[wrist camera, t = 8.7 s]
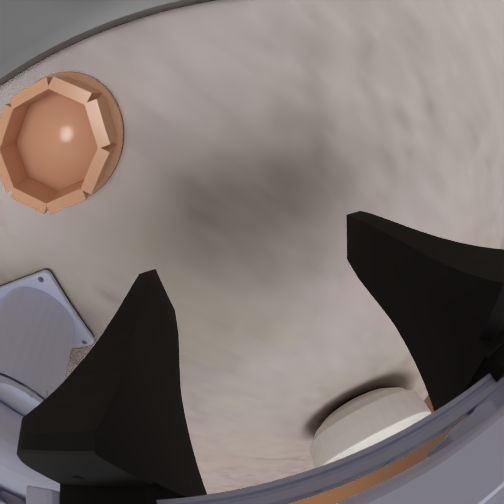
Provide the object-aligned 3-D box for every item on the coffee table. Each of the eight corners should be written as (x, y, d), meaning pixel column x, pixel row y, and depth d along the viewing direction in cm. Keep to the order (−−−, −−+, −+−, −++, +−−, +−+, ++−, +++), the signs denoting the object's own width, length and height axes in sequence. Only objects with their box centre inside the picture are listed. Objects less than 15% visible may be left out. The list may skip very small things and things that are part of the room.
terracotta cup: (34, 218, 16) (20, 236, 14) (-6, 109, 12) (-26, 115, 10) (140, 177, 17) (135, 190, 15) (104, 50, 13) (93, 45, 10)
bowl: (278, 424, 39) (294, 473, 32) (396, 352, 36) (427, 399, 29) (326, 442, 49) (341, 476, 42) (413, 389, 46) (434, 422, 39)
